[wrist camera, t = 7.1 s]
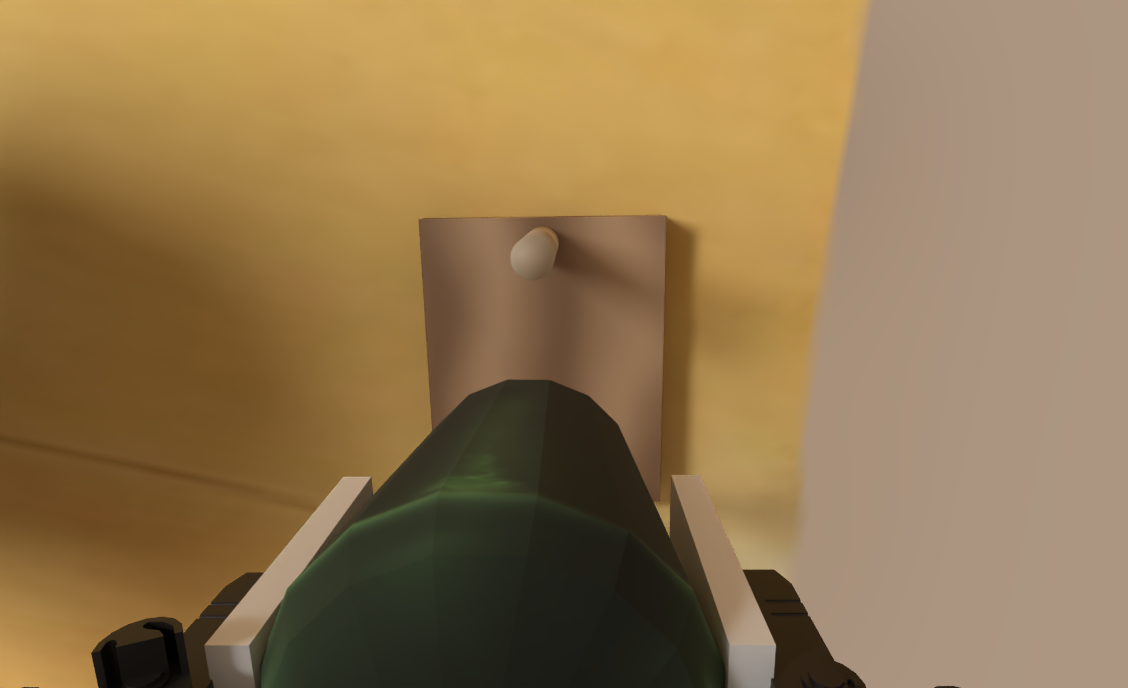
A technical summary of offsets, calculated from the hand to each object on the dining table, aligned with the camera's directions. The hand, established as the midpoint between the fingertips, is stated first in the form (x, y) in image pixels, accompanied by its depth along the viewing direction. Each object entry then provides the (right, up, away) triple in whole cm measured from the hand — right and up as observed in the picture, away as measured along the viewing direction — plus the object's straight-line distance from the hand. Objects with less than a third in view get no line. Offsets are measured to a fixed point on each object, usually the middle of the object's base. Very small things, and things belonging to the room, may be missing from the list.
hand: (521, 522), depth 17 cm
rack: (0, +4, +17) cm, 17 cm away
